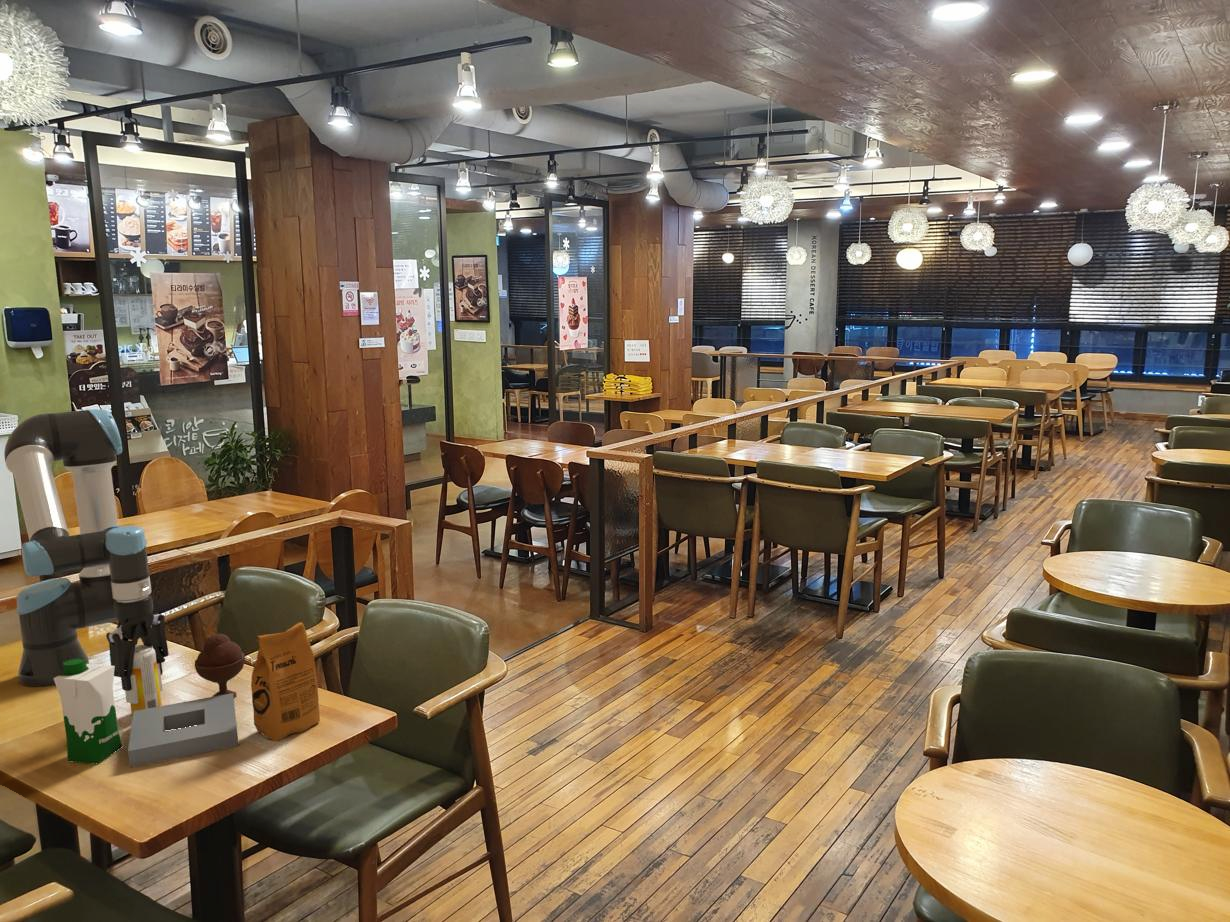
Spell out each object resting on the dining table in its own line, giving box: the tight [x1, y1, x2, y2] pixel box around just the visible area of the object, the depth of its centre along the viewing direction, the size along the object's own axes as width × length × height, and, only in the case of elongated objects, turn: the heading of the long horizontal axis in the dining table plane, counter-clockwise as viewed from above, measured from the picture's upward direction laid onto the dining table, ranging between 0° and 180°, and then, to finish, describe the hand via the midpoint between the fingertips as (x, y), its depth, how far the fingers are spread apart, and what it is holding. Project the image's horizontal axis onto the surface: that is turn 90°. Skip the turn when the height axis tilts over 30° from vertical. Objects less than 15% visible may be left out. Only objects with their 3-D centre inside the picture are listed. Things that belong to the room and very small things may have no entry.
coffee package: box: [250, 622, 321, 742], centre depth 197 cm, size 10×12×22 cm
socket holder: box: [127, 693, 240, 768], centre depth 196 cm, size 20×20×4 cm
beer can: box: [129, 644, 163, 715], centre depth 206 cm, size 6×6×15 cm
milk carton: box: [54, 658, 123, 765], centre depth 187 cm, size 9×9×20 cm
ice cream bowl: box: [194, 633, 246, 699], centre depth 213 cm, size 11×11×15 cm
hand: (144, 696), depth 207 cm, fingers closed on beer can, 6 cm apart
